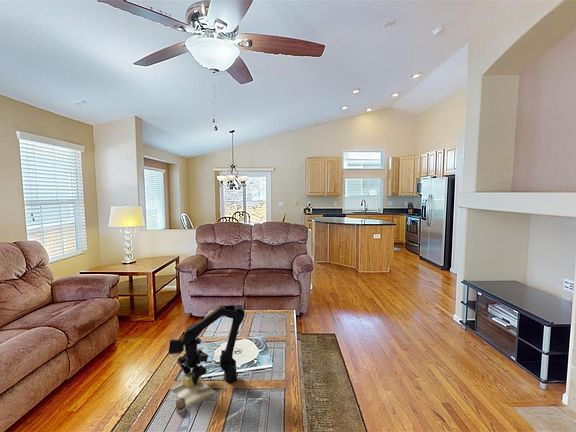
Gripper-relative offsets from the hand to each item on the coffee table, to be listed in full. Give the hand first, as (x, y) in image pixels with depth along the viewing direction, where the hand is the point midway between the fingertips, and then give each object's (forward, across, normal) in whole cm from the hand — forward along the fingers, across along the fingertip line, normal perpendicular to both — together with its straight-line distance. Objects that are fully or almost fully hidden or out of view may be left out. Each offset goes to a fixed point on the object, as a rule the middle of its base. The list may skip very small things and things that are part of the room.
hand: (192, 381), depth 157 cm
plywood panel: (+2, -6, +2) cm, 6 cm away
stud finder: (+1, 0, 0) cm, 1 cm away
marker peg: (+2, -14, +13) cm, 19 cm away
